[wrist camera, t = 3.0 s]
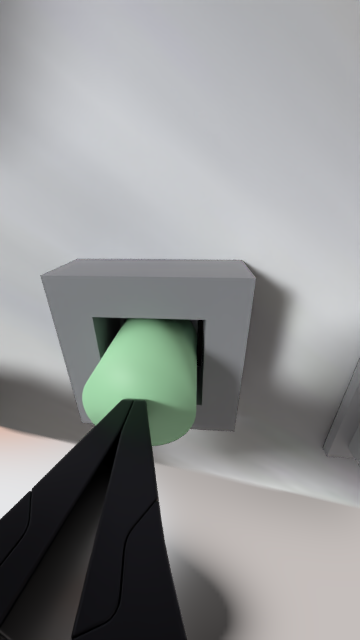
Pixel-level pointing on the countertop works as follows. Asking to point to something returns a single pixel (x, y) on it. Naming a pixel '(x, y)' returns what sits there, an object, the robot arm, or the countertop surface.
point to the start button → (149, 375)
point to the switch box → (157, 303)
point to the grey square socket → (346, 424)
